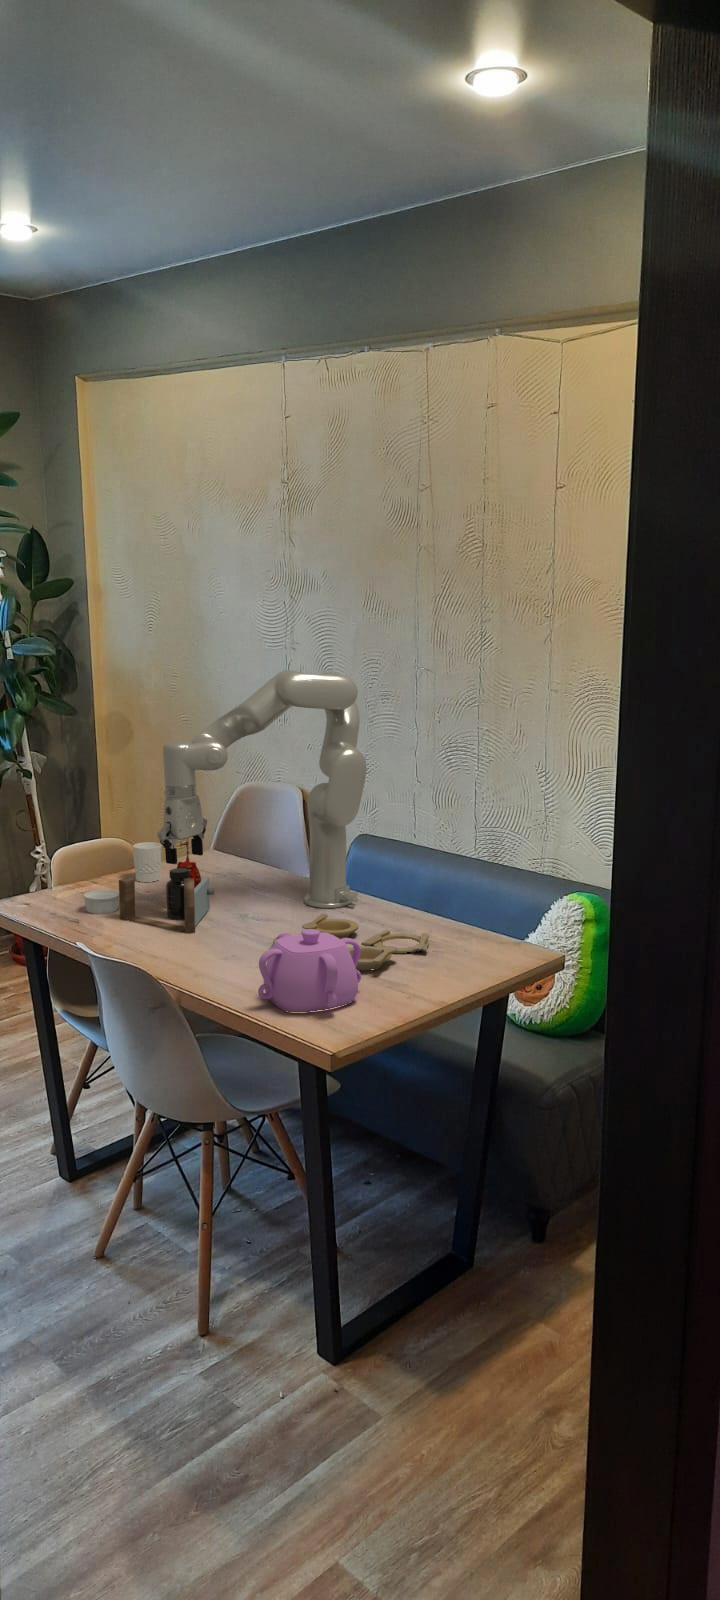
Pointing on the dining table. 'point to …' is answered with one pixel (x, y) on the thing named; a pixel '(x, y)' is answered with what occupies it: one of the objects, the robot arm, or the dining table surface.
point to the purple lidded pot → (310, 971)
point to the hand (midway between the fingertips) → (184, 859)
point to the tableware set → (367, 941)
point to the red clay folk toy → (190, 867)
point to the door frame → (129, 914)
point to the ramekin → (101, 901)
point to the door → (202, 899)
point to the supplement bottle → (176, 893)
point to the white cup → (147, 861)
